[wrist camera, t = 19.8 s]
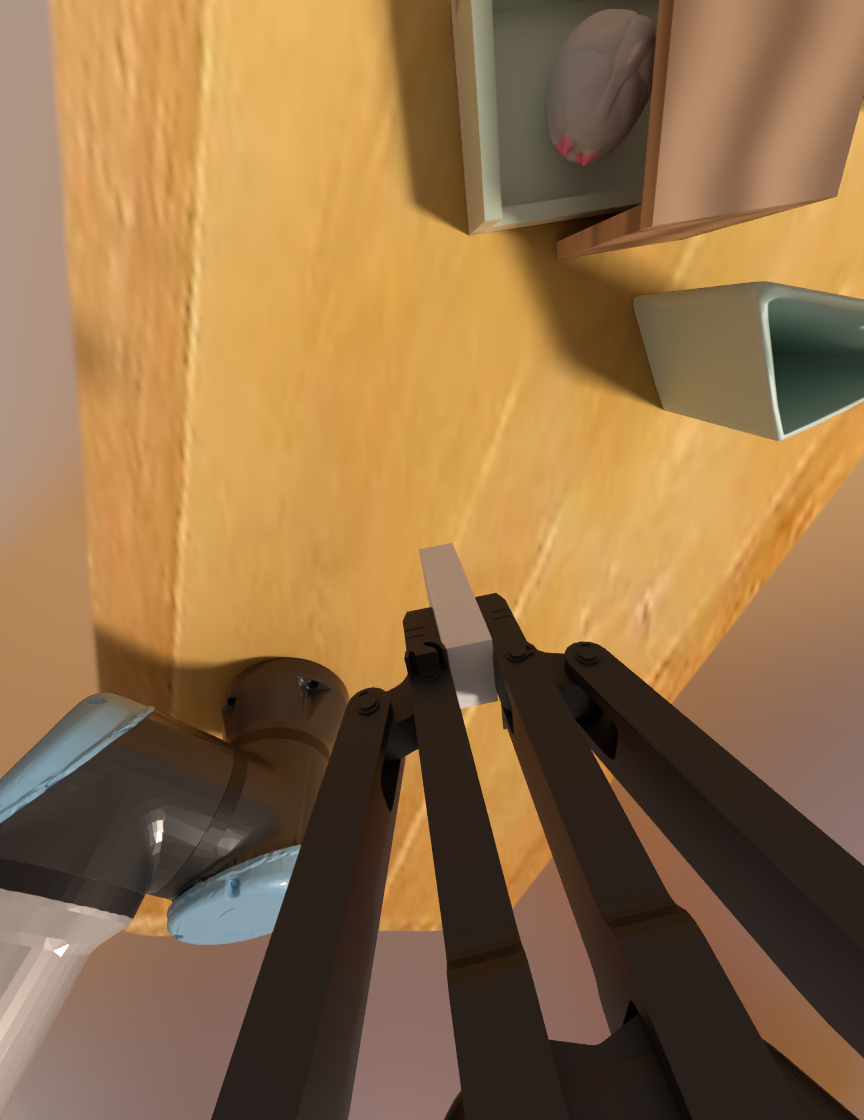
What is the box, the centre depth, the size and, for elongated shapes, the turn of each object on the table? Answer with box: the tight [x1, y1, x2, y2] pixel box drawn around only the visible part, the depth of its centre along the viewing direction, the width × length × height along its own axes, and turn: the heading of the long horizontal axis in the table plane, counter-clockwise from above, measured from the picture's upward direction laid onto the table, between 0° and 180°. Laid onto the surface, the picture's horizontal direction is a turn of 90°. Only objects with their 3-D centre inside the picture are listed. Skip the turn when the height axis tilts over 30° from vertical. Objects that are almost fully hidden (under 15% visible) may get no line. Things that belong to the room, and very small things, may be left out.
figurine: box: [545, 9, 656, 166], centre depth 26 cm, size 7×7×8 cm
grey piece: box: [633, 281, 864, 441], centre depth 32 cm, size 16×8×20 cm, turn 74°
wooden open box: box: [557, 0, 864, 260], centre depth 25 cm, size 11×17×13 cm, turn 8°
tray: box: [451, 0, 659, 235], centre depth 28 cm, size 15×12×5 cm
